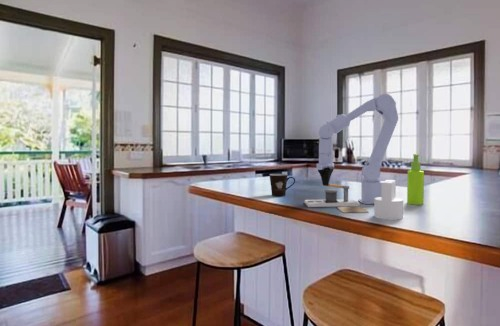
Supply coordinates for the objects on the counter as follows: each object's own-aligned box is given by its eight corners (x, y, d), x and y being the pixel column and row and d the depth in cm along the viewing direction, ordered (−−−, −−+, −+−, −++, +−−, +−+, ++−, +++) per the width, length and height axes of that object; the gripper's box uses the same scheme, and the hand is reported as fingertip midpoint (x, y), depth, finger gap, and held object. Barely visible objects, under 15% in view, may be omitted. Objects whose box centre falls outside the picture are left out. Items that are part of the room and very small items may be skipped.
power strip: (352, 202, 141) (352, 187, 140) (359, 206, 132) (359, 190, 131) (304, 202, 141) (304, 188, 140) (308, 206, 132) (308, 191, 131)
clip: (350, 188, 135) (350, 186, 135) (346, 189, 134) (346, 186, 134) (327, 185, 146) (327, 183, 145) (323, 186, 144) (323, 183, 144)
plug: (335, 203, 139) (335, 189, 138) (338, 205, 134) (338, 190, 133) (323, 203, 139) (323, 189, 138) (326, 205, 134) (326, 191, 133)
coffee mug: (267, 196, 159) (266, 175, 158) (272, 193, 167) (272, 173, 166) (291, 197, 154) (290, 175, 154) (295, 194, 162) (295, 174, 162)
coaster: (360, 207, 129) (360, 206, 129) (368, 212, 120) (368, 211, 120) (336, 208, 129) (336, 207, 129) (343, 213, 120) (343, 211, 120)
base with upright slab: (401, 221, 107) (401, 183, 106) (371, 217, 112) (371, 182, 111) (404, 215, 115) (405, 180, 114) (377, 212, 119) (377, 179, 119)
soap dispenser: (422, 202, 138) (423, 153, 137) (423, 205, 132) (424, 154, 130) (407, 201, 140) (407, 153, 139) (407, 204, 134) (407, 154, 133)
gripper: (323, 152, 150) (323, 183, 151) (309, 154, 138) (309, 186, 139) (338, 153, 146) (338, 184, 147) (326, 154, 134) (325, 188, 135)
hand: (325, 185), depth 143 cm, fingers closed
